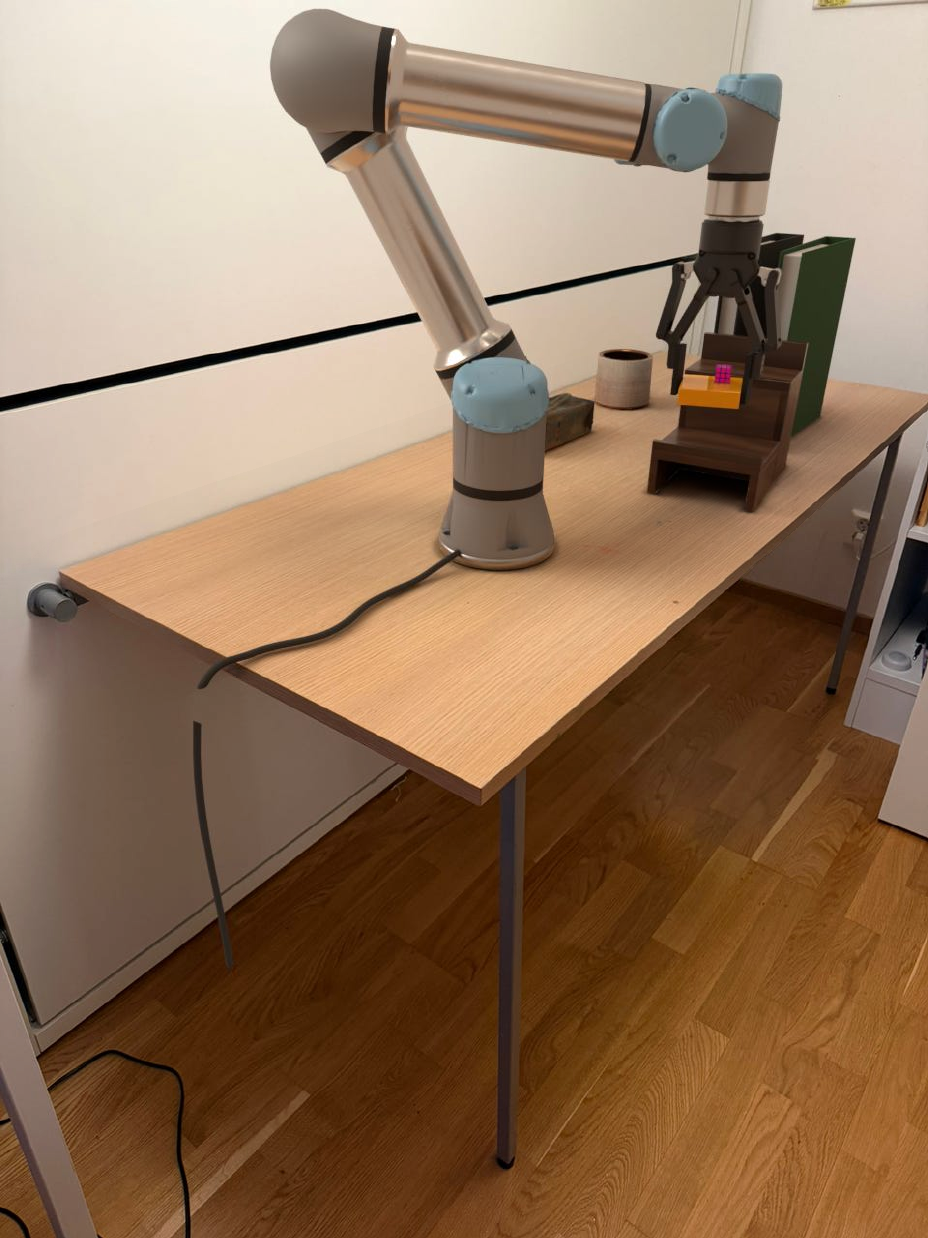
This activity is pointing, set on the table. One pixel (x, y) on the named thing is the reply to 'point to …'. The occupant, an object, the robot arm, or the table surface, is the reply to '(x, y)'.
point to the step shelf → (736, 420)
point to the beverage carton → (567, 419)
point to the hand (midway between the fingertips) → (709, 397)
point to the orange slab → (711, 389)
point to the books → (800, 307)
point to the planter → (623, 378)
